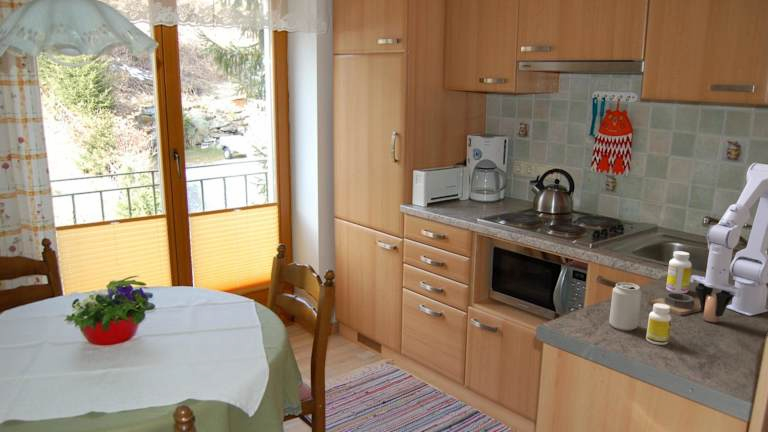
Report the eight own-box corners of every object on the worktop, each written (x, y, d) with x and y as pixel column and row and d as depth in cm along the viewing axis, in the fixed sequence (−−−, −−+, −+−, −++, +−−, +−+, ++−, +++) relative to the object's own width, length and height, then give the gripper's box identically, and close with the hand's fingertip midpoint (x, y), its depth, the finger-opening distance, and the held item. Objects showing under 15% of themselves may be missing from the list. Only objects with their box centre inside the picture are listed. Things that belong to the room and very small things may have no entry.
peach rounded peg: (708, 316, 186) (712, 293, 185) (721, 320, 183) (725, 297, 181) (699, 318, 184) (703, 295, 183) (712, 323, 181) (716, 299, 179)
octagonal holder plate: (676, 297, 203) (677, 288, 202) (708, 309, 193) (709, 299, 193) (648, 303, 196) (649, 294, 196) (680, 315, 187) (681, 305, 186)
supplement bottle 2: (688, 289, 211) (693, 251, 208) (688, 295, 205) (693, 256, 202) (665, 286, 214) (670, 249, 211) (665, 292, 208) (670, 253, 205)
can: (634, 334, 172) (639, 291, 170) (605, 327, 176) (610, 286, 173) (639, 325, 178) (644, 284, 176) (612, 319, 182) (616, 279, 180)
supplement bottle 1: (670, 346, 165) (675, 310, 163) (648, 344, 166) (652, 308, 164) (665, 338, 170) (670, 303, 168) (644, 336, 171) (648, 301, 169)
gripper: (686, 262, 184) (680, 307, 187) (734, 276, 172) (727, 324, 175) (701, 259, 188) (695, 303, 191) (750, 273, 176) (742, 320, 178)
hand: (711, 313), depth 183 cm, fingers closed on peach rounded peg, 4 cm apart
